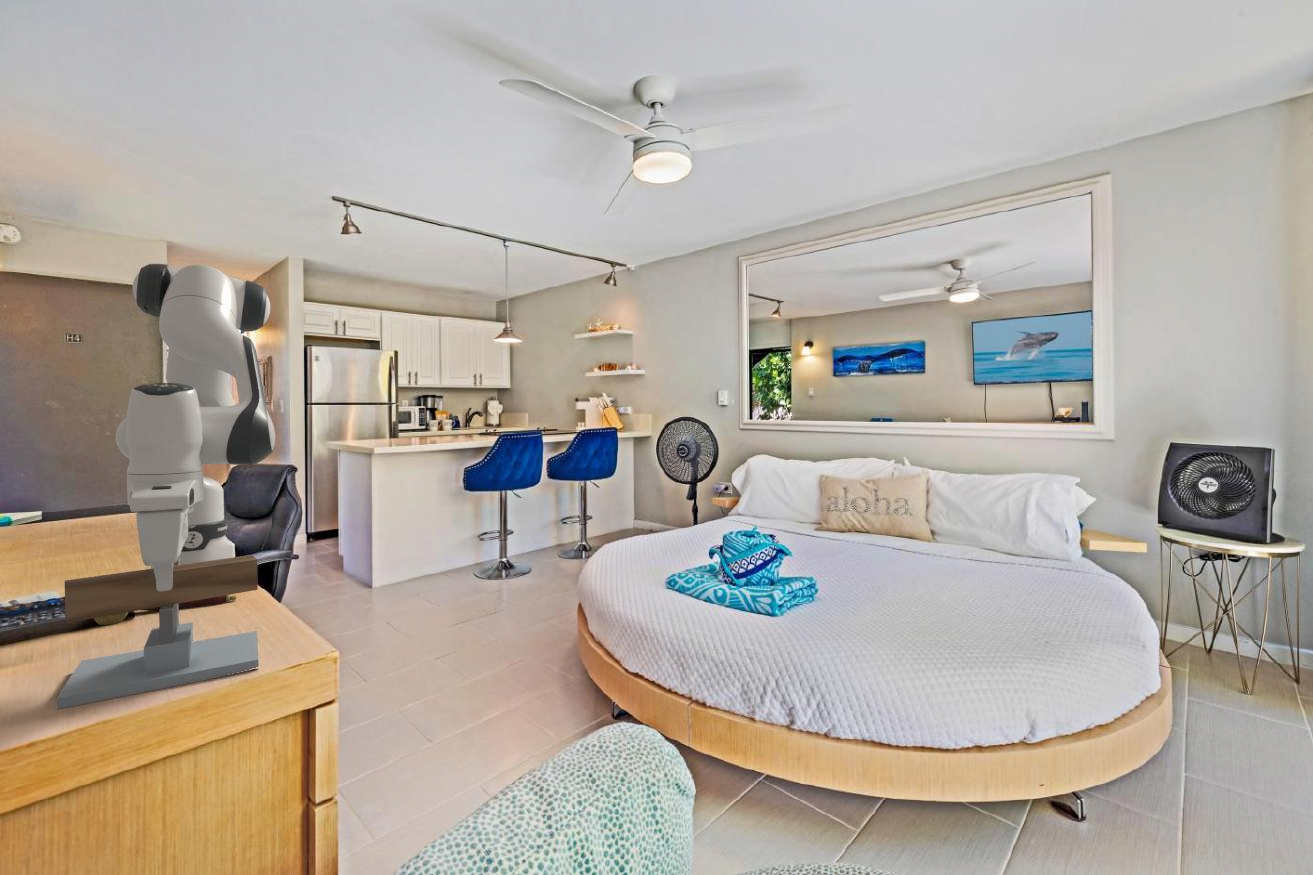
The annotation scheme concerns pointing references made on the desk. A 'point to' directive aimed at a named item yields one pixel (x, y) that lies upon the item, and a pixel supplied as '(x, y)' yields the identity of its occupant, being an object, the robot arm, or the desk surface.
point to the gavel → (119, 617)
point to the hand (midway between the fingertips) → (168, 581)
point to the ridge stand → (160, 663)
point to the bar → (141, 593)
